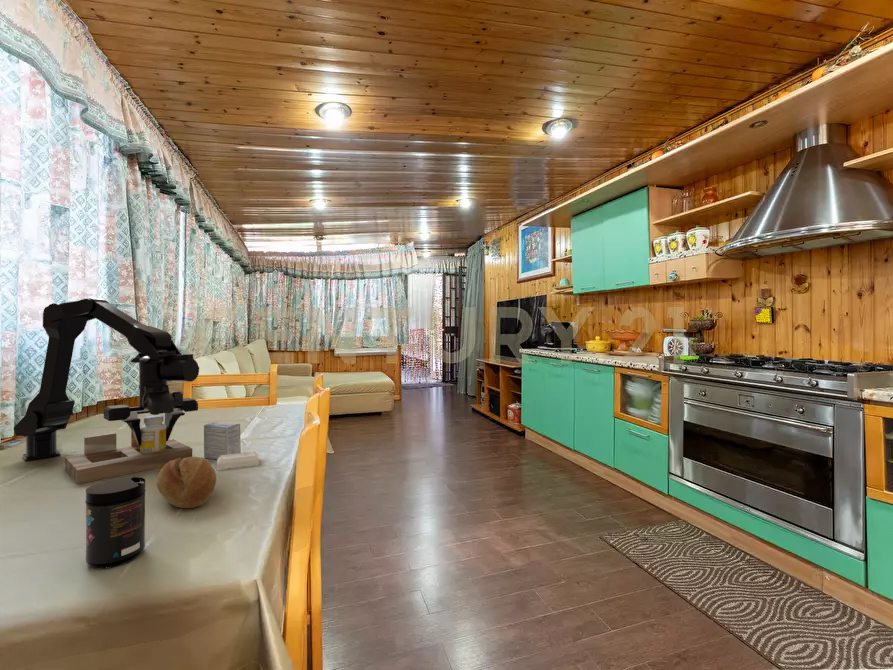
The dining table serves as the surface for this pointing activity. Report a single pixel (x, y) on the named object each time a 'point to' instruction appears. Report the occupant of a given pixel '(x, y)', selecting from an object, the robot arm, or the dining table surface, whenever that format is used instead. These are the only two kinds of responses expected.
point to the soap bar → (237, 460)
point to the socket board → (118, 458)
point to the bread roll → (186, 481)
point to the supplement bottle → (153, 434)
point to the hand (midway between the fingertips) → (153, 443)
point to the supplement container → (115, 521)
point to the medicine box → (221, 439)
